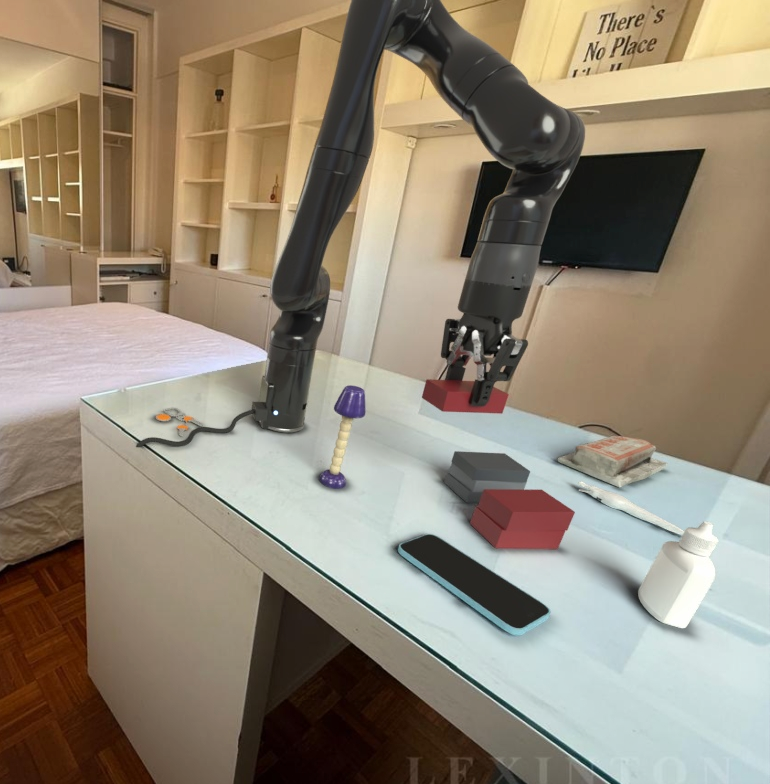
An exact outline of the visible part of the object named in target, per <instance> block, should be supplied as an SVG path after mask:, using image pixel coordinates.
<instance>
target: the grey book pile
mask: <svg viewBox="0 0 770 784" xmlns="http://www.w3.org/2000/svg"><path fill="white" fill-rule="evenodd" d="M530 475H531V470H529V469H528V468H526V467H525V466H524V465H522V464H521V463H519V462H518V461H517V460H515V459H514V458H512V457H511V456H509V455H508V454H507V453H503V452H502V453H501V452H482V451H461V450H458V451H457V450H455V451H454V452H453V455H452V458H451V463H450V467H449V470H448V472H446V474H445V477H444V481H443V483H444V484H445V485H446V486H447V487H448V488H449V489H450V490H451V491H453V492H454V493H455V494H456V495H457V496H458V497H459V498H461V500H463V501H464V502H465V503H466V504H468V503H469V504H479V502H480V499H481V496H482V493H483V490H484V489H523V490H525V489H526V485H527V482H528V479H529V476H530Z"/></svg>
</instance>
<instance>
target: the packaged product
mask: <svg viewBox="0 0 770 784" xmlns="http://www.w3.org/2000/svg"><path fill="white" fill-rule="evenodd" d="M656 450H657V447H656V445H653V444H652V443H650V442H649V441H647V440H645V439H642V438H636V437H635V438H634V437H628V436H622V435H611V436H608V437H604V438H601V439H598V440H594V441H591V442H588V443H585V444H581V445H576V447H575V450H574V452H571V453H568V454H566V455H561V456H559V457H558V458H557V462H558V463H560V464H562V465H564V466H567V467H570V468H572V469H574V470H577V471H579V472H581V473H583V474H586V475H589V476H591V477H593V478H595V479H598V480H600V481H603V482H605V483H607V484H610V485H613V486H615V487H617V488H622V487H624V486H627V485H630V484H633V483H635V482H638V481H642V480H645V479H647V478H648V477H651V476H652V475H655V474H657V473H659V472H661V471H663V470H664V469H665V467H666V466H667V465H668V462H666V461H663V460H660V459H656V458H653V457H652V456H653V455H654V452H655V451H656Z"/></svg>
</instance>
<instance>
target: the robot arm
mask: <svg viewBox="0 0 770 784" xmlns="http://www.w3.org/2000/svg"><path fill="white" fill-rule="evenodd" d="M342 33H343V34H342V39H341V44H340V48H339V52H338V58H337V61H336V62H337V63H336V68H335V71H334V76H333V81H332V85H331V88H330V92H329V95H328V98H327V103H326V106H325V109H324V113H323V116H322V121H321V124H320V129H319V131H318V133H317V137H316V139H315V143H314V145H313V150H312V153H311V156H310V159H309V163H308V166H307V170H306V175H305V177H304V181H303V185H302V188H301V192H300V195H299V198H298V201H297V205H296V209H295V212H294V216H293V220H292V223H291V227H290V230H289V232H288V235H287V239H286V240H285V243H284V246H283V248H282V251H281V253H280V256H279V258H278V261H277V263H276V265H275V268H274V271H273V274H272V276H271V279H270V283H269V285H270V286H269V293H270V297H271V300H272V303H273V304H274V305H275V307H277V309H278V310H280V311H279V315H278V318H277V320H276V322H275V323H274V325H273V326H272V328H271V329H270V332H269V339H268V348H267V355H266V361H265V363H266V364H265V371H264V375H262V376H261V379H260V387H259V394H258V395H259V396H258V401H252V403H251V409H250V410H247V411H244V412H241V413H239V414H238V415H236V416H235V417H234V418H233V419H232V421H231V423H230V425H229V426H228V427H226V428H216V427H210V426H199V427H196V428H194V429H192V430H191V431H190V432H189V435H188V437H186V439H184V440H179V441H177V440H176V441H175V440H170V439H166V438H161V437H155V436H154V437H153V436H151V437H146V438H143V439H142V440H140V441H139V442H138V443H137V444H136V445H135V447H136V448H142V447H144V446H145V445H147V444H151V443H157V444H161V445H166V446H170V447H183V446H186V445H189V444H190V443H191V442H192V441H193V439H194V437H195V436H196V435H197V434H198V433H201V432H206V433H207V432H208V433H215V434H227V433H230V432H232V431H234V428H235V427H236V424H237V422H238V421H240V420H241V419H243V418H246V417H249V416H251V415H252V417H253V419H254V421H255V422H258V423H259V425H260V427H261V429H264V430H270V431H274V432H278V433H288V434H289V433H291V434H292V433H297V432H300V431H302V430H303V429H304V426H305V419H306V412H307V408H308V406H309V402H308V401H309V394H310V387H311V381H312V375H313V369H314V364H315V358H316V351H317V345H318V342H319V341H318V340H319V338H320V336H321V334H322V332H323V329H324V325H325V320H326V316H327V315H326V314H327V310H328V305H329V300H330V295H331V293H330V292H331V277H330V274H329V272H328V270H327V268H326V267H325V266H324V265H323V263H324V258H325V254H326V252H327V248H328V246H329V243H330V240H331V239H332V236H333V234H334V233H335V230H336V229H337V227H338V225H339V224H340V223H341V221H342V219H343V217H344V216H345V214H346V213H347V212H348V210H349V209H350V206H351V204H352V203H353V201H354V199H355V197H356V195H357V193H358V192H359V188H360V187H361V184H362V181H363V179H364V176H365V173H366V170H367V168H368V165H369V162H370V159H371V157H372V152H373V149H374V148H373V147H374V143H375V125H376V124H375V123H376V122H375V88H376V87H375V85H376V79H377V74H378V69H379V66H380V63H381V59H382V57H383V53H384V51H388V52H390V53H393V54H395V55H396V56H399V57H401V58H403V59H404V60H407V61H408V62H410V63H412V64H413V65H414V66H416V67H417V68H418V69H420V70H421V71H422V72H423V73H424V75H425V76H426V77H427V79H429V81H430V83H431V85H432V86H433V89H435V91H436V93H437V94H438V96H439V97H440V98H441V99H442V100H443V101H444V102H445V104H446V105H447V106H448V107H449V108H450V109H451V110H453V111H454V112H455V114H456V115H458V116H459V118H461V119H462V120H463V121H464V122H465V123H466V124H467V125H468V126H469V127H471V128H472V129H473V131H474V132H475V135H476V136H477V137H478V139H479V141H480V142H481V143H482V145H483V147H484V149H486V150H487V152H488V154H490V155H491V156H492V157H493V158H494V159H495V160H496V161H498V163H500V164H501V165H502V166H504V167H506V168H508V169H510V170H512V172H511V174H510V177H509V180H508V181H507V184H506V186H505V189H504V191H503V193H501V194H499V195H497V196H495V197H493V198H492V199H491V200H490V201H489V203H488V205H487V208H486V209H485V212H484V215H483V219H482V222H481V223H482V224H481V225H480V226H481V227H480V231H479V234H478V238H477V242H476V245H475V247H474V250H473V252H472V254H471V257H470V260H469V262H468V267H467V270H466V275H465V278H464V282H463V286H462V289H461V293H460V297H459V300H458V303H457V310H458V311H459V312H461V314H462V313H463V315H462V316H461V317H460V318H446V320H445V321H444V322H445V323H444V328H443V335H442V342H441V351H440V357H441V359H445V360H446V365H447V370H446V373H445V377H444V380H457V381H464V380H463V379H464V377H465V376H464V375H465V372H466V366H467V365H468V363H469V361H470V360H471V359H472V357H473V363H474V364H475V365H476V378H475V379H474V380H473V381H474V385H473V388H472V392H471V395H470V399H469V404H471V405H472V406H481V407H483V406H485V405H486V404H487V403H488V402H489V399H490V396H491V393H492V389H493V387H495V383H497V382H509V381H511V379H512V377H513V375H514V373H515V371H516V369H517V367H518V366H519V364H520V362H521V360H522V358H523V356H524V354H525V352H526V350H527V348H528V346H529V341H528V340H527V339H525V338H517V337H516V336H514V335H512V334H513V330H512V328H513V327H512V325H513V322H514V321H515V320H518V319H520V318H521V317H523V312H524V310H525V307H526V304H527V302H528V301H527V300H528V297H529V294H530V291H531V288H532V285H533V283H534V279H535V276H536V273H537V269H538V266H539V262H540V254H541V249H542V245H543V242H544V239H545V235H546V233H547V229H548V227H549V223H550V221H551V217H552V213H553V210H554V207H555V205H556V203H557V202H558V200H559V199H560V197H561V196H562V193H563V192H564V190H565V188H566V186H567V184H568V183H569V181H570V179H571V176H572V174H573V173H574V171H575V169H576V166H577V165H578V162H579V160H580V157H581V156H582V152H583V149H584V146H585V145H584V144H585V140H586V126H585V122H584V120H583V119H582V117H581V116H580V115H579V114H578V113H576V112H574V111H572V110H569V109H567V108H565V107H563V106H560V105H559V104H556V103H554V102H553V101H551V100H550V99H548V98H547V97H546V96H544V95H543V94H541V93H540V92H539V91H538V90H536V89H535V88H534V87H533V86H531V85H529V81H528V78H527V77H526V76H525V74H524V73H523V72H522V71H521V70H520V69H519V68H518V67H517V66H516V65H515V64H513V63H512V62H511V61H510V60H508V59H507V58H506V57H505V56H504V55H502V54H501V53H500V52H499V51H498V50H496V49H495V48H494V47H493V46H491V45H490V44H488V43H487V42H486V41H484V40H482V39H481V38H480V37H477V36H476V35H474V34H473V33H470V32H469V31H467V29H465V28H464V27H462V25H460V23H458V22H457V21H456V20H455V18H454V17H453V16H452V14H451V13H450V12H449V11H448V10H447V8H446V7H445V5H444V3H443V2H442V0H350V4H349V7H348V11H347V15H346V18H345V24H344V29H343V32H342ZM451 343H452V345H451ZM487 365H489V370H488V371H487ZM503 367H504V369H503ZM502 369H503V371H501V370H502Z"/></svg>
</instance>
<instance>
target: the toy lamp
mask: <svg viewBox="0 0 770 784" xmlns="http://www.w3.org/2000/svg"><path fill="white" fill-rule="evenodd" d="M333 410H334V412H335V413H336V414H338V415H340V416H341V421H340V424H339V430H338V431H337V438H336V440H335V447H334V449H333V455H332V457H331V463H330V465H329V468H328V469H326V470H325V469H324V470H323V471H322V472H321V474H320V475H319V478H318V480H319V482H320V483H321V484H322V485H323V486H326V487H327V488H330V489H334V490H335V489H337V490H339V489H343V488H345V487H346V484H347V480H346V477H345V475H344V474H343V472H341V469H342V467H341V466H342V464H343V463H344V462H343V461H344V456H345V455H346V448H347V447H348V440H349V438H350V435H351V434H350V432H351V430H352V427H353V425H352V423H353V421H354V419H362V418H364V417H365V416H366V393H365V389H364V388H363V387H361V386H357V385H349V384H348V385H345V386H344V387H343V389H342V391H341V392H340V394H339V396H338V398H337V400H336V401H335V403H334V405H333Z"/></svg>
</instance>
